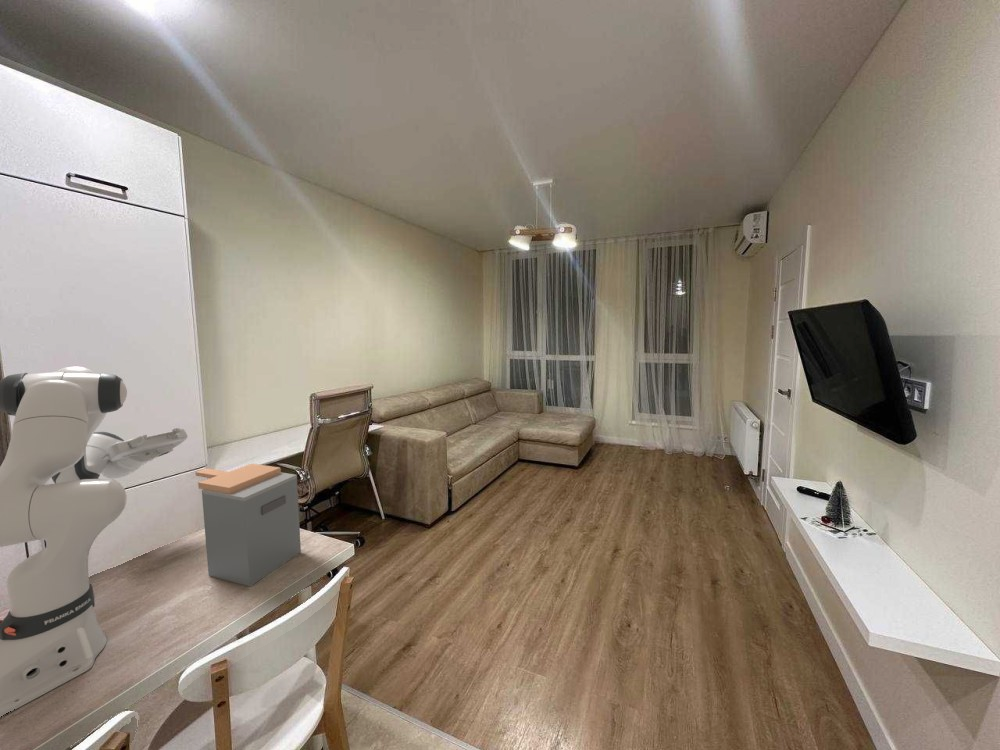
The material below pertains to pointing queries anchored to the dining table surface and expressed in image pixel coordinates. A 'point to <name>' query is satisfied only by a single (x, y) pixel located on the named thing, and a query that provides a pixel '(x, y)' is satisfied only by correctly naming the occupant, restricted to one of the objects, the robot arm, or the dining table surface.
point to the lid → (235, 477)
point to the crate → (252, 529)
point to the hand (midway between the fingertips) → (162, 433)
